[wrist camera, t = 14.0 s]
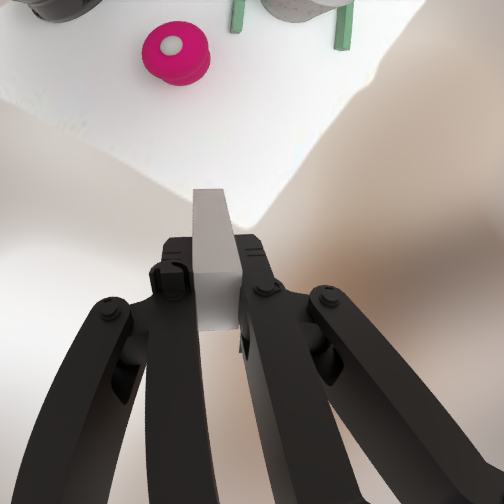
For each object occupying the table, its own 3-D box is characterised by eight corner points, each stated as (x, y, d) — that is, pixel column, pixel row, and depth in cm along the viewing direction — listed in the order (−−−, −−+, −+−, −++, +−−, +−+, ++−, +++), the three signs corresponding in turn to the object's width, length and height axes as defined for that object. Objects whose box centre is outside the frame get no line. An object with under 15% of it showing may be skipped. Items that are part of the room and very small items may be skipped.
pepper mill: (206, 86, 34) (212, 87, 18) (157, 86, 33) (121, 89, 17) (212, 41, 30) (223, 6, 14) (161, 41, 29) (130, 7, 13)
